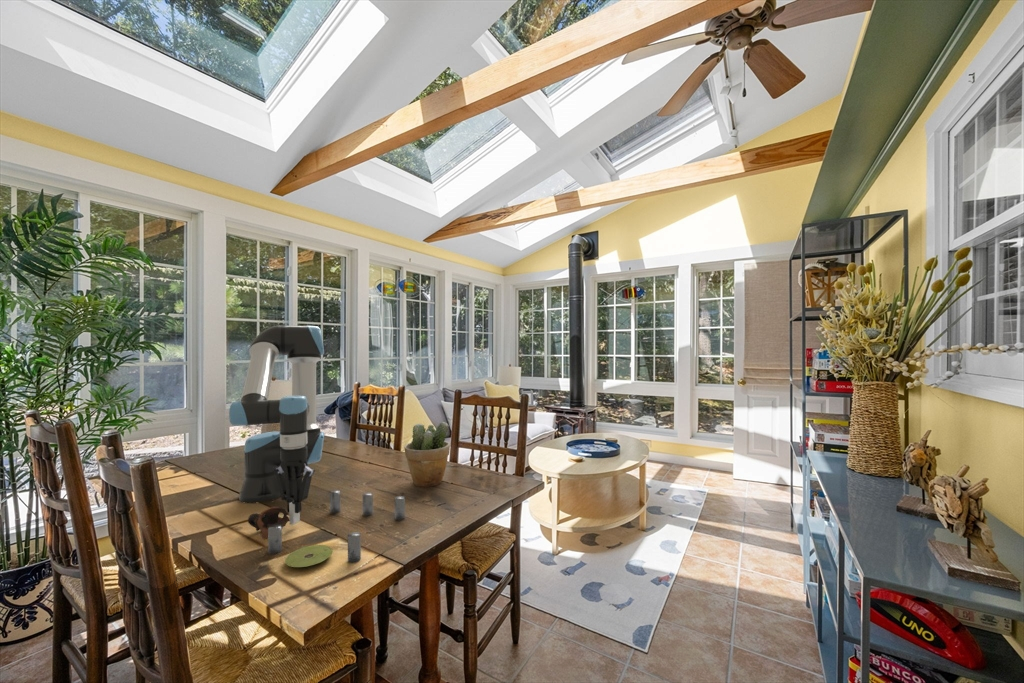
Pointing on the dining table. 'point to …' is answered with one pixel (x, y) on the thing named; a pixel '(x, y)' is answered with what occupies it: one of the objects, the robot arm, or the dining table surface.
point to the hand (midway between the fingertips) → (294, 522)
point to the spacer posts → (335, 507)
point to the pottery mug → (268, 520)
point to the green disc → (308, 556)
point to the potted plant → (428, 454)
